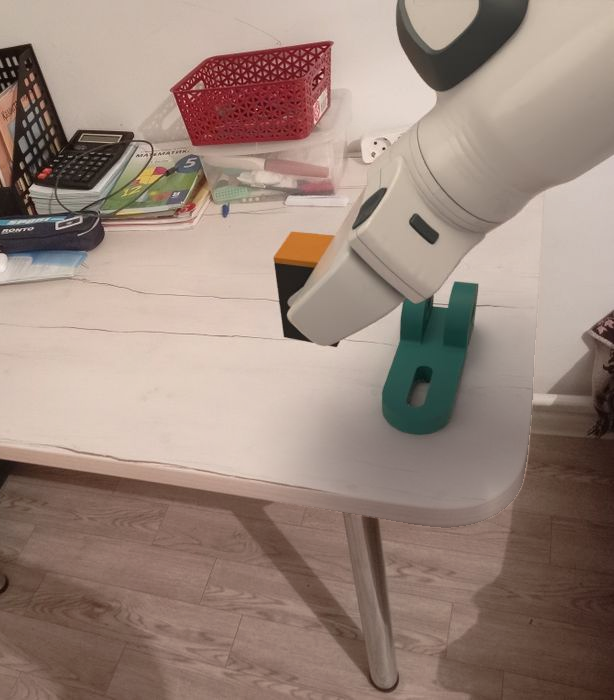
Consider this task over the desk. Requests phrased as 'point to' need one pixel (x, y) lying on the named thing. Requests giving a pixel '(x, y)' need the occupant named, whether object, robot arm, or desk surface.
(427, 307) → the bracket
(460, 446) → the desk surface
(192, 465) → the desk surface
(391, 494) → the desk surface
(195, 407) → the desk surface
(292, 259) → the upright block
